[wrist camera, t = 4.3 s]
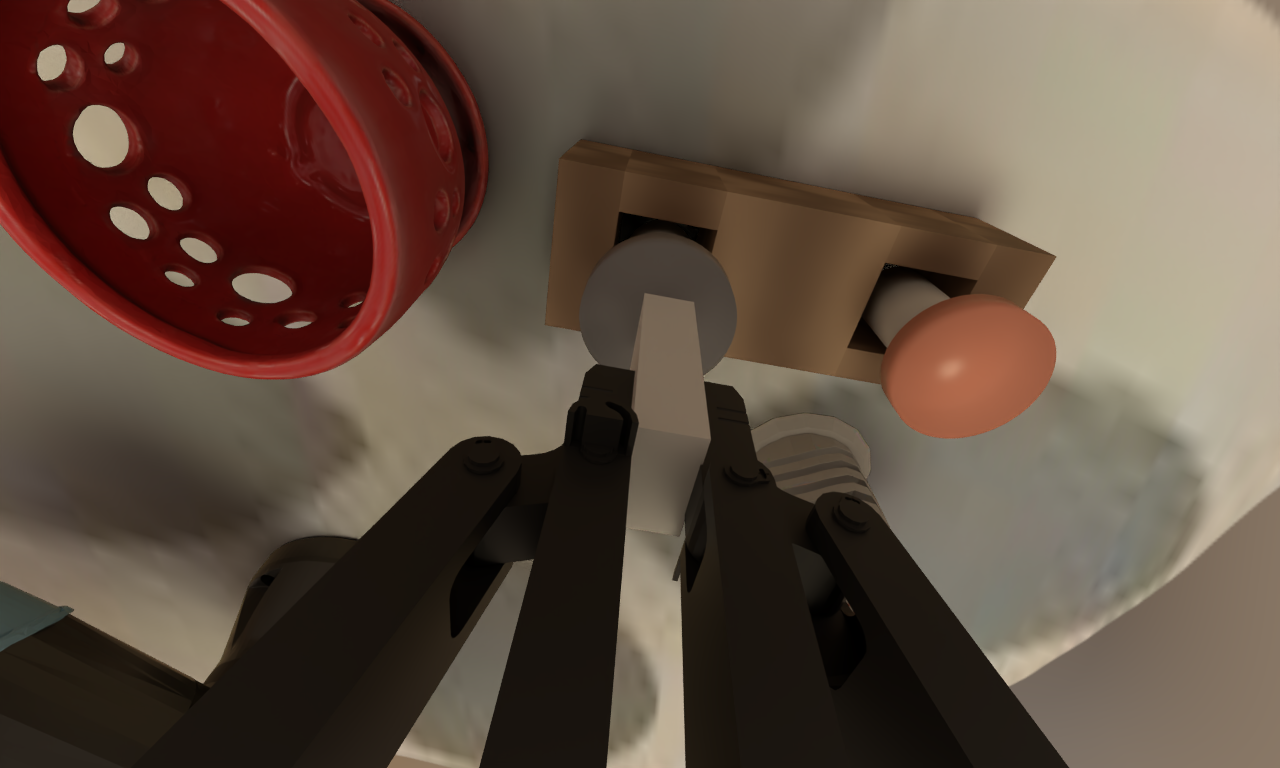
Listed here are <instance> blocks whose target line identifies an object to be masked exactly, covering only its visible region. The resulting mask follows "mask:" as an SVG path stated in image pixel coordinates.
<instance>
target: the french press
mask: <svg viewBox="0 0 1280 768" xmlns="http://www.w3.org/2000/svg"><path fill="white" fill-rule="evenodd" d="M751 434H752V439H753V443H754V447H755V451H756V456H757V460H758V461H760V462H761V463H763V464H764V465H765V466H766V467H767V468H768V469H769V470H770V471H771V473H772V475H773V477H774V479H775V481H776V485H777V487H778V488H780V489H781V490H783V491H785V492H787V493H789V494H791V495H793V496H796V497H798V498H801V499H803V500H806V501H808V502H811V503H813V504H815V502H816V500H817V499H818V498H819V497H820V496H821V495H822V494H823V493H828V492H833V491H834V492H841V493H847V494H849V495H852V496H854V497H857V498H859V499H861V500H862V501H864V502H865V503H867V504H868V505H870V506H871V507H872V508H873V509H874V510H875V511H876V512H877V513H878V514H879V515H880V516H881V517H882V519H883V520H884V521H885V523H886V524H887V525H888V523H887V521H886V518H885V516H884V514H883V512H882V510H881V508H880V506H879V504H878V502H877V500H876V498H875V496H874V494H873V492H872V490H871V488H870V486H869V484H868V482H867V480H866V479H867V477H868V475H869V473H870V471H871V462H870V448H869V447H868V445H867V444H866V442H865V441H864V439H863V437H862V436H861V434H860V433H859V431H858V430H857V429H855V428H853V427H852V426H850V425H848V424H846V423H844V422H843V421H841V420H839V419H837V418H835V417H832V416H824V415H817V414H810V413H801V414H795V415H790V416H784V417H779V418H774V419H772V420H770V421H768V422H766V423H764V424H762V425H761V426H759V427H757V428H755V429H753V430H751ZM888 527H889V525H888ZM889 528H890V527H889ZM846 602H847V604H848V606H849V607H850V609H851V610H852V608H851V606H850V605H849V603H848V601H847V600H846ZM852 611H853V610H852Z"/></svg>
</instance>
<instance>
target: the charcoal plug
mask: <svg viewBox="0 0 1280 768" xmlns="http://www.w3.org/2000/svg"><path fill="white" fill-rule="evenodd" d="M645 293H647V294H653V295H658V296H664V297H669V298H674V299H680V300H685V301H691V302H694V306H695V314H696V322H697V330H698V338H699V346H700V354H701V363H702V371H703V375H705V374H706V373H708V372H709V371H710V370H711V369H713V368H714V367H715V366H716V365H717V364H718V363H719V362H720V361H721V359H722V358H723V357H724V355H725V354H726V352H727V351H728V349H729V347H730V345H731V343H732V340H733V338H734V335H735V330H736V325H737V307H736V302H735V297H734V294H733V291H732V288H731V284H730V282H729V279H728V276H727V274H726V272H725V270H724V268H723V267H722V265H721V264H720V263H719V261H718V260H717V259H716V258H715V257H714V256H713V255H712V254H711V253H710V252H709V251H708V250H707V249H705V248H704V247H703V246H701V245H700V244H698V243H696V242H694V241H693V240H690V239H689V237H688V236H687V234H686V233H685V232H684V230H683V229H682V228H680V227H679V226H678V225H676V224H674V223H672V222H669V221H664V220H655V221H650V222H647V223H645V224H643V225H641V226H640V227H638V228H637V229H636V230H635V231H634V232H633V234H632V235H631V236H630V238H629V239H627V240H625V241H623V242H621V243H619V244H618V245H616V246H614V247H613V248H612V249H610V250H609V251H608V252H607V253H606V254H605V255H604V256H603V257H602V258H601V259H600V260H599V261H598V263H597V264H596V265H595V267H594V268H593V270H592V272H591V274H590V276H589V279H588V282H587V284H586V287H585V290H584V293H583V296H582V299H581V304H580V311H579V321H580V329H581V333H582V337H583V340H584V342H585V345H586V346H587V348H588V350H589V352H590V354H591V355H592V356H593V358H594V359H595V360H596V361H597V362H598V363H599V365H605V366H610V367H616V368H622V369H627V370H630V366H631V361H632V356H633V351H634V345H635V340H636V335H637V330H638V325H639V320H640V315H641V309H642V304H643V299H644V294H645Z"/></svg>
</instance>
